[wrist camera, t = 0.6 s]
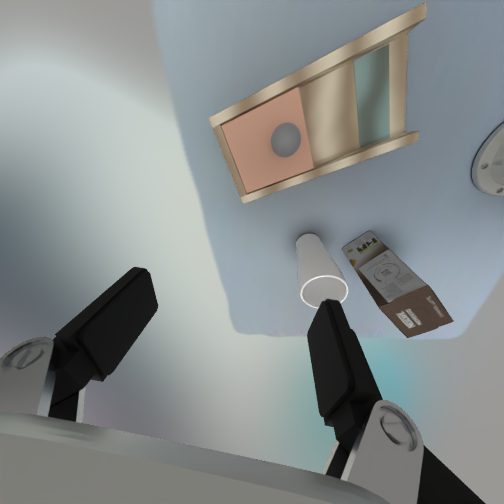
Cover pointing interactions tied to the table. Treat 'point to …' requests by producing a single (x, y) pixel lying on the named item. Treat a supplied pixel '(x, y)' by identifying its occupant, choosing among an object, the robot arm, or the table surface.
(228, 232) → the table surface
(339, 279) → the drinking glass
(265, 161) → the salmon block with knob
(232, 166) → the bay
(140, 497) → the robot arm
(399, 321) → the coffee box
